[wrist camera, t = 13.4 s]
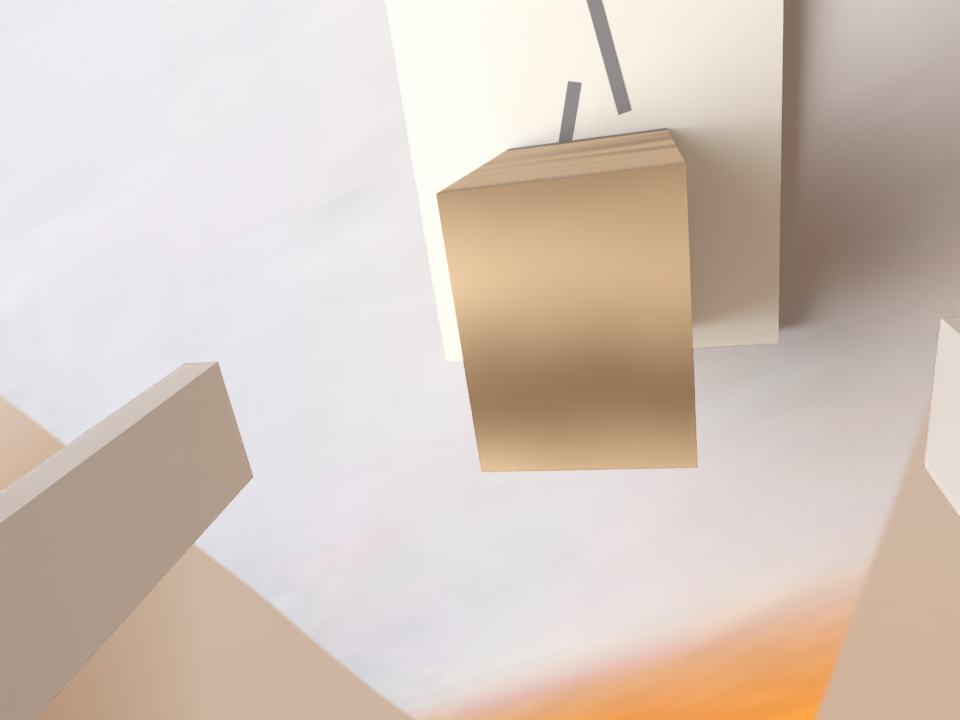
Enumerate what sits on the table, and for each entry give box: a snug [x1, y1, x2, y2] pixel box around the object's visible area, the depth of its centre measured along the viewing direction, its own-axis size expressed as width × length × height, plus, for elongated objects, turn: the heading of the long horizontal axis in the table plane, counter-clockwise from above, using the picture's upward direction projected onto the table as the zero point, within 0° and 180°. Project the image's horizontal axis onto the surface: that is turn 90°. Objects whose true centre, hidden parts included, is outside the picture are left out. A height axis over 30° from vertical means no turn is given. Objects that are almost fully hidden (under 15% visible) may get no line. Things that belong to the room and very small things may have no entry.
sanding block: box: [436, 128, 697, 472], centre depth 23 cm, size 8×6×11 cm
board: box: [385, 0, 784, 362], centre depth 26 cm, size 24×14×2 cm, turn 8°
